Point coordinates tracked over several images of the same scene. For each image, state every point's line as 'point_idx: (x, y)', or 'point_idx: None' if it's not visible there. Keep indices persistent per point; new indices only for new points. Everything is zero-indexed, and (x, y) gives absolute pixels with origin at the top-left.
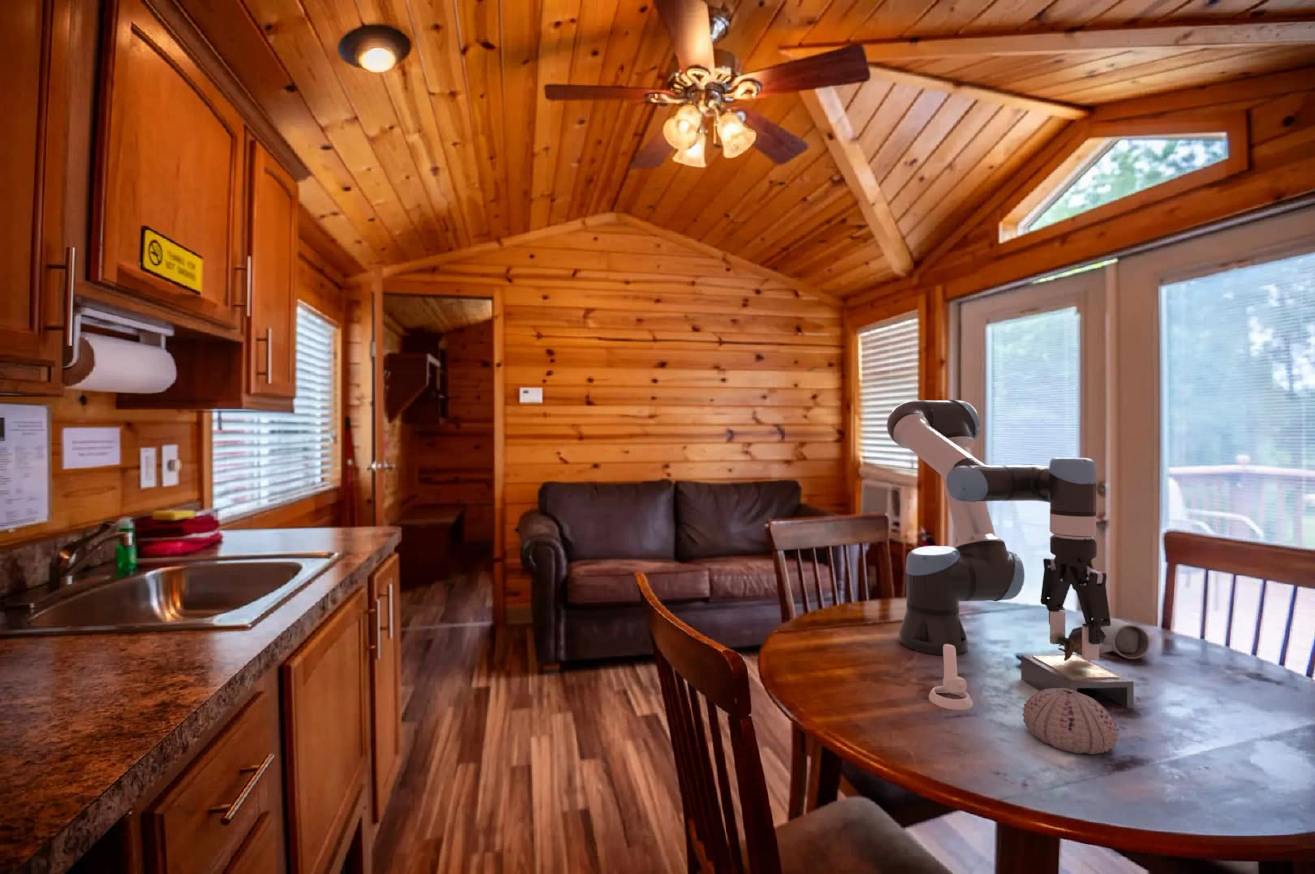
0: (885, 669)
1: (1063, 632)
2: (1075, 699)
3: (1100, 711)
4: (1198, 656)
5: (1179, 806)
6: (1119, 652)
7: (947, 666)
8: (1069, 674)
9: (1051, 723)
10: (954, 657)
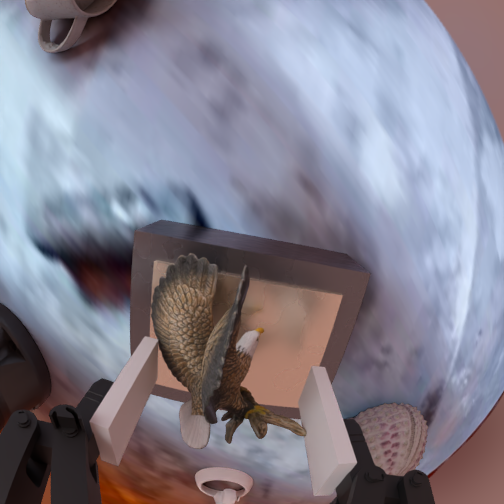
0: (116, 471)
1: (143, 370)
2: None
3: (420, 454)
4: None
5: (473, 411)
6: (99, 12)
7: None
8: (284, 401)
9: None
10: None
